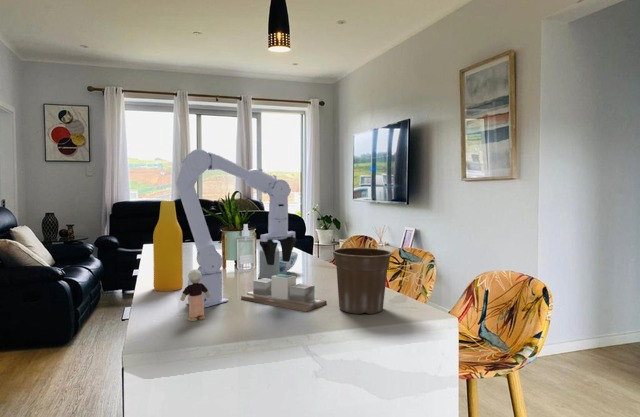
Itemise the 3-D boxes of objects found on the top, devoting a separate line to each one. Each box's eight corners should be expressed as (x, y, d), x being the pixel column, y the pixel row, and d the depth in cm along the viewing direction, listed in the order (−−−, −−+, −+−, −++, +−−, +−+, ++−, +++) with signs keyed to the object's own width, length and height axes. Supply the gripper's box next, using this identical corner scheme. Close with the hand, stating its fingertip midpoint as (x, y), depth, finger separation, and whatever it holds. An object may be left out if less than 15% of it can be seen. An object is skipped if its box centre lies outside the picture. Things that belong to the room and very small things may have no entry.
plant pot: (400, 306, 129) (400, 250, 128) (377, 320, 115) (377, 257, 114) (348, 299, 137) (349, 246, 136) (321, 311, 123) (322, 252, 122)
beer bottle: (153, 292, 144) (152, 201, 143) (154, 286, 153) (153, 200, 152) (183, 290, 147) (182, 201, 146) (182, 284, 156) (182, 200, 155)
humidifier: (283, 284, 158) (283, 212, 157) (279, 289, 150) (279, 213, 149) (260, 283, 159) (260, 212, 158) (254, 288, 151) (254, 213, 150)
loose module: (287, 299, 130) (287, 277, 130) (271, 296, 133) (271, 275, 133) (295, 296, 133) (296, 275, 133) (280, 293, 137) (280, 273, 136)
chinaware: (302, 270, 184) (303, 251, 184) (289, 277, 170) (289, 257, 170) (269, 268, 189) (269, 250, 188) (253, 275, 174) (253, 255, 174)
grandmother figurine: (203, 314, 119) (202, 266, 119) (212, 317, 117) (211, 268, 116) (177, 321, 113) (176, 270, 113) (186, 324, 111) (185, 272, 110)
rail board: (306, 311, 123) (306, 291, 122) (241, 299, 136) (241, 281, 136) (326, 303, 131) (326, 285, 131) (263, 293, 144) (263, 275, 144)
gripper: (273, 220, 130) (273, 267, 131) (303, 218, 142) (302, 261, 143) (255, 219, 134) (255, 265, 135) (285, 217, 146) (285, 259, 147)
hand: (278, 263), depth 139 cm, fingers open, 7 cm apart
